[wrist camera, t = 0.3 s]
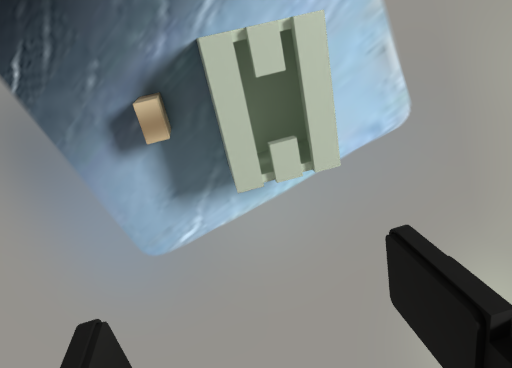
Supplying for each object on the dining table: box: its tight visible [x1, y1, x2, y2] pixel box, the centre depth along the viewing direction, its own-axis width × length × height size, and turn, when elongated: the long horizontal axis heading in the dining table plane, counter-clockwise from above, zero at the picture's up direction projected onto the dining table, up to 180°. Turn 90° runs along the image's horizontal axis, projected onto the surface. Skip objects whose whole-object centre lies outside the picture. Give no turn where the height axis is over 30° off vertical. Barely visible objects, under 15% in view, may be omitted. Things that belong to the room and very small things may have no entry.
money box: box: [196, 10, 341, 193], centre depth 38 cm, size 16×12×9 cm
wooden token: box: [133, 92, 171, 144], centre depth 39 cm, size 4×2×5 cm, turn 12°
